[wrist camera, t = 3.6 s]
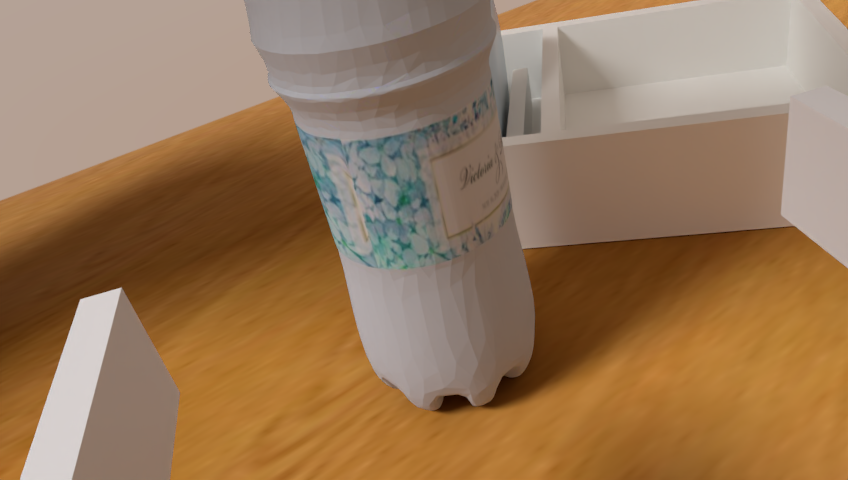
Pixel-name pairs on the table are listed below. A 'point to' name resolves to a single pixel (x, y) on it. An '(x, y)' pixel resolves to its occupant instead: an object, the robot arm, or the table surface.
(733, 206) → the divided tray
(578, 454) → the table surface
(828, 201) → the robot arm
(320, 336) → the table surface
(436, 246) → the bottle
